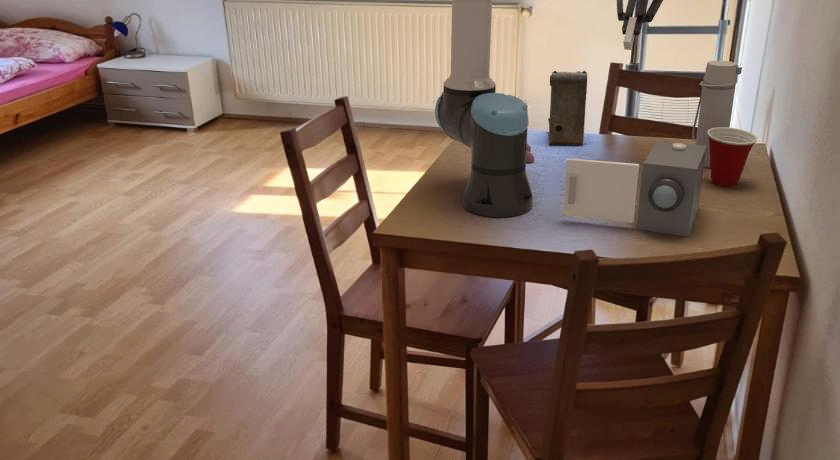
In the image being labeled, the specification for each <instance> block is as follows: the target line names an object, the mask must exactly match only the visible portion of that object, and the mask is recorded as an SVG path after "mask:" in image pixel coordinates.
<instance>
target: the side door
mask: <svg viewBox="0 0 840 460" xmlns="http://www.w3.org/2000/svg"><path fill="white" fill-rule="evenodd" d="M639 173H640V164H639V163H629V162H618V161H617V162H616V161H608V160H607V161H603V160H594V159H593V160H592V159H582V158H581V159H580V158H569V157H568V158H567V159H566V165H565V180H564V181H565V183H564V201H563V216H566V217H578V218H586V219H595V220H597V219H598V220H606V221H613V222H614V221H617V222H622V223H623V222H624V223H634V221H635V211H636V204H637V203H636V201H637V193H638V192H637V191H638V190H637V189H638V182H639Z"/></svg>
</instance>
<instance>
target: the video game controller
mask: <svg viewBox="0 0 840 460" xmlns="http://www.w3.org/2000/svg"><path fill="white" fill-rule="evenodd" d="M531 150H532V149H531V146H530V145H529V144H528V143H527V149H526V163H528V164H533V163H534V162H535V156H534V154H532V153H531Z"/></svg>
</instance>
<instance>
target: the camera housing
mask: <svg viewBox="0 0 840 460" xmlns="http://www.w3.org/2000/svg"><path fill="white" fill-rule="evenodd" d="M706 148H707V146H702V145H695V144H692V143H691V144H690V143H683V142H682V143H681V142H673V141H672V142H671V141H662V140H656V142H655V144H654V145H653V146H652V148H651V150H650V152H649V153H648V154H647V156H646V158H645V160H644V161H643V164H642V168H641V173H640V174H641V175H640V185H639V192H638V193H639V194H638V204H637V205H638V206H637V213H636V216H637V219H636V220H637V222H636V230H641V231H647V232H655V233H660V234H668V235H674V236H682V237H687V238H688V237H689V236H690V233H691V230H692V228H693V225H694V222H695V219H696V217H697V214H698V211H699V205H700V198H701V192H702V191H701V190H702V185H703V184H702V183H703V175H704V170H705V169H704V168H705V167H704V162H705V155H706Z"/></svg>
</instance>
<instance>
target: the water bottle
mask: <svg viewBox="0 0 840 460" xmlns="http://www.w3.org/2000/svg"><path fill="white" fill-rule="evenodd" d="M737 65H738V64H737V63H736V62H734V61H730V60H729V61H728V60H710V61H707V62H706V67H705V71H704V76H703V80H702V81H701V82H700V83H699V85H700V86H701V92H700V96H699V101H698V105H697V109H696V113H695V117H694V120H693V121H694V122H693V126H692V129H691V131H692V133H691V141H693V142H695V144H694V145H702V146H707V148H706V155H705V162H704V168H706V169H710V146H709V137H708V135H707V132H708V130H709V129H712V128H717V127H729V128H730V122H731V116H732V115H731V114H732V108H733V102H734V96H735V95H734V94H735V89H736V88H735V87H734V86H736V84H737ZM696 125H697V129H696ZM695 131H696V138H695Z"/></svg>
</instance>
